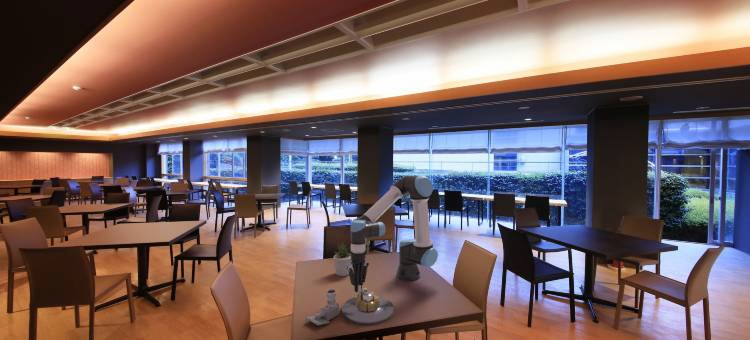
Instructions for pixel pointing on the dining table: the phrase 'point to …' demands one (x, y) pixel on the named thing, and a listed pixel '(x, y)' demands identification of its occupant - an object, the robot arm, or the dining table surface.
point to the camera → (326, 310)
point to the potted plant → (342, 261)
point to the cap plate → (367, 317)
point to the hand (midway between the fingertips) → (358, 297)
